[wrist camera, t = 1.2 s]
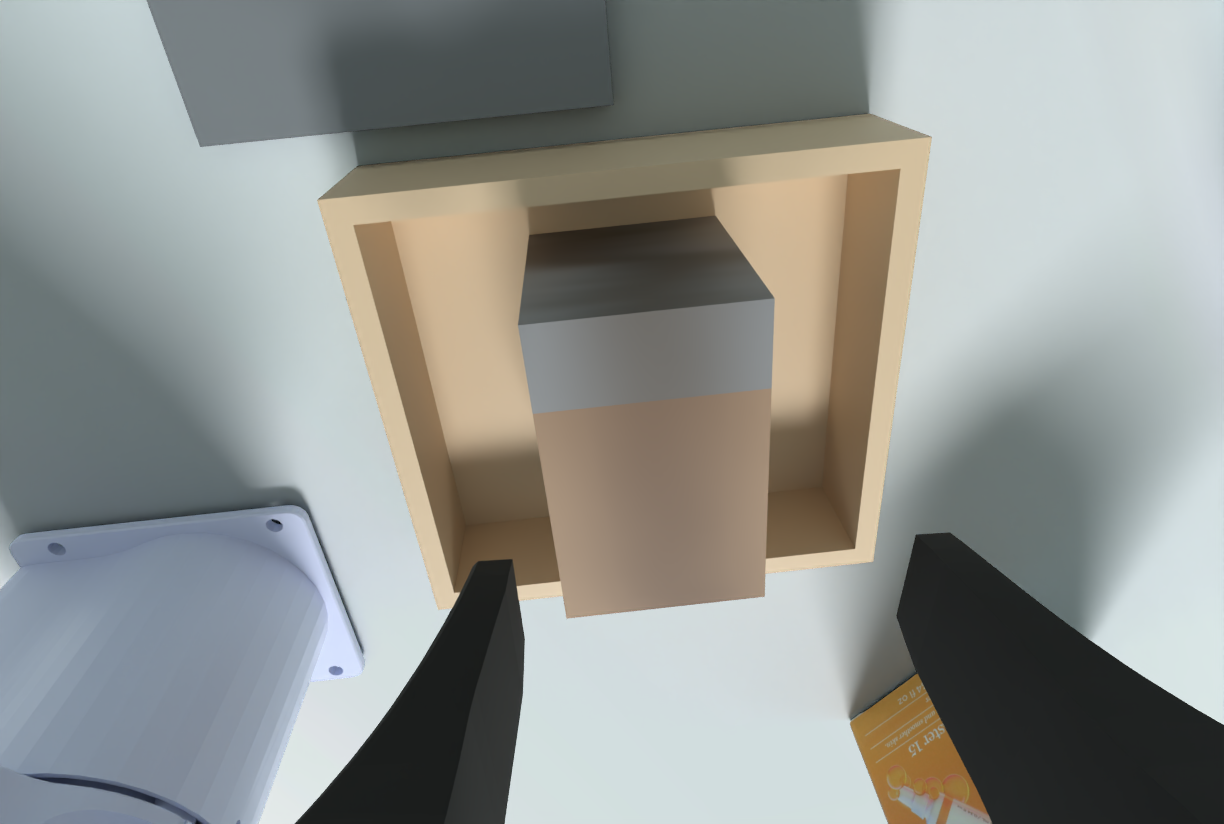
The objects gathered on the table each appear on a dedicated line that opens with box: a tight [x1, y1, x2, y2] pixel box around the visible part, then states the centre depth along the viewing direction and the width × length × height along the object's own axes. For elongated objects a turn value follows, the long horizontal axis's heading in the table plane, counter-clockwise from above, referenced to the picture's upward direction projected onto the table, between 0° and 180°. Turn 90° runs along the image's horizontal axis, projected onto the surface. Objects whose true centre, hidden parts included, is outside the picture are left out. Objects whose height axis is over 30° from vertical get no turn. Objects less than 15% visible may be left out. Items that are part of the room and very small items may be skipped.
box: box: [518, 216, 775, 618], centre depth 18 cm, size 5×8×6 cm, turn 5°
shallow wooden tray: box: [317, 114, 932, 610], centre depth 20 cm, size 13×12×4 cm
